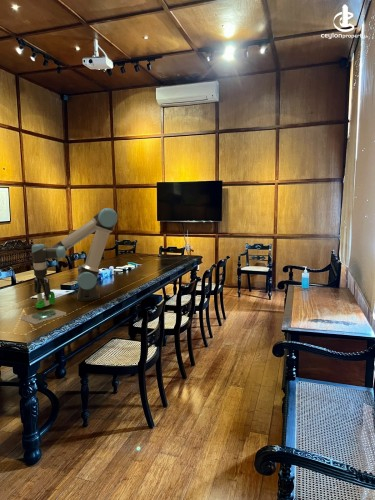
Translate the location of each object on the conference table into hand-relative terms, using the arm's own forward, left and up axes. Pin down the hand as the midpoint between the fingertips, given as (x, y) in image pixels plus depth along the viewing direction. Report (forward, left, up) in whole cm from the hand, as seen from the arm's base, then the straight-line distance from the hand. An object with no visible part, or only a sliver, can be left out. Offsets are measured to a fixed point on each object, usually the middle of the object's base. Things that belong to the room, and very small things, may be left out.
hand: (43, 304), depth 221 cm
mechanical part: (-1, 0, -1) cm, 1 cm away
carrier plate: (+10, +17, -2) cm, 20 cm away
